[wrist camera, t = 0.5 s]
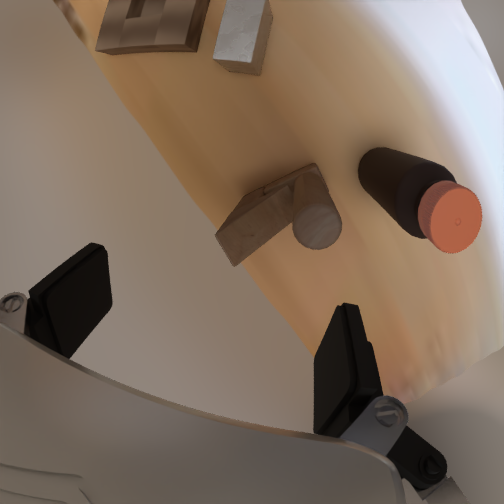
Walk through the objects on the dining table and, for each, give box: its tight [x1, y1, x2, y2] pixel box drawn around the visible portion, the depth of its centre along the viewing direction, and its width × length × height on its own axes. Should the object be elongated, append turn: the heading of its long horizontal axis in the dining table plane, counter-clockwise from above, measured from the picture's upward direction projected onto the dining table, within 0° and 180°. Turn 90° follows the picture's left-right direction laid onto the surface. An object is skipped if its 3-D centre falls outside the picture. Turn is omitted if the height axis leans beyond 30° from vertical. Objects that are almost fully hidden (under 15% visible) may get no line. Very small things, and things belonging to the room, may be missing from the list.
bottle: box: [358, 148, 482, 254], centre depth 24 cm, size 7×7×20 cm
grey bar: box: [213, 0, 273, 76], centre depth 25 cm, size 9×4×8 cm, turn 169°
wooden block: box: [215, 163, 342, 267], centre depth 29 cm, size 4×11×18 cm, turn 119°
